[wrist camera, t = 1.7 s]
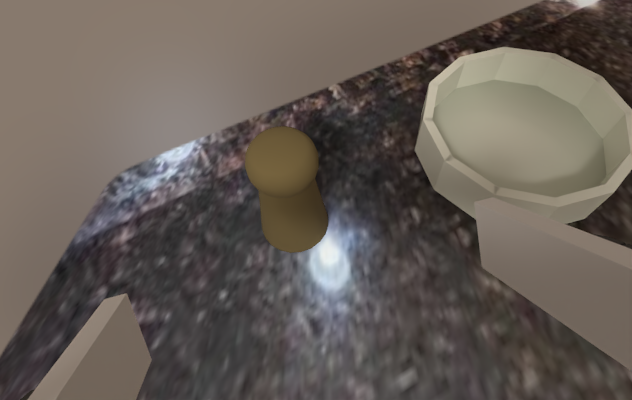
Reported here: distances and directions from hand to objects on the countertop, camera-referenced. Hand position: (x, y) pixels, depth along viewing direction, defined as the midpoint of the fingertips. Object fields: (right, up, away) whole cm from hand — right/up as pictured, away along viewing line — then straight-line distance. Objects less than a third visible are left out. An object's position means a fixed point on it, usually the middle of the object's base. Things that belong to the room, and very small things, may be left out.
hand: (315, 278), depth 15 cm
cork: (-2, +1, +22) cm, 22 cm away
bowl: (+19, +8, +24) cm, 32 cm away
